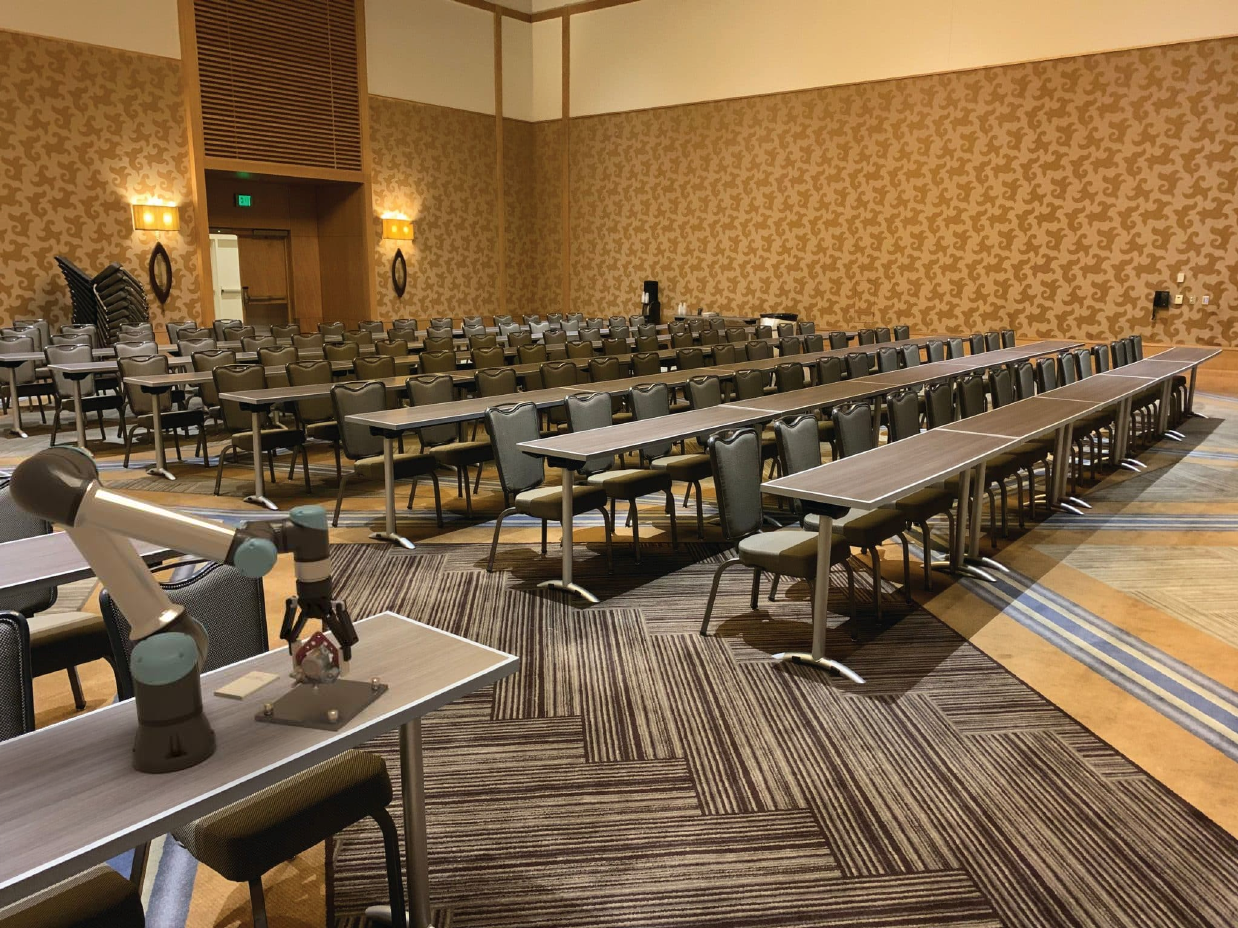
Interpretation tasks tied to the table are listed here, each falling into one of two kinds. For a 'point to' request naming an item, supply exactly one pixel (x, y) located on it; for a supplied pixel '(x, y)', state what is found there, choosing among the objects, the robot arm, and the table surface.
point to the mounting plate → (322, 704)
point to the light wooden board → (247, 685)
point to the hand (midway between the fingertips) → (321, 671)
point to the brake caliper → (316, 662)
